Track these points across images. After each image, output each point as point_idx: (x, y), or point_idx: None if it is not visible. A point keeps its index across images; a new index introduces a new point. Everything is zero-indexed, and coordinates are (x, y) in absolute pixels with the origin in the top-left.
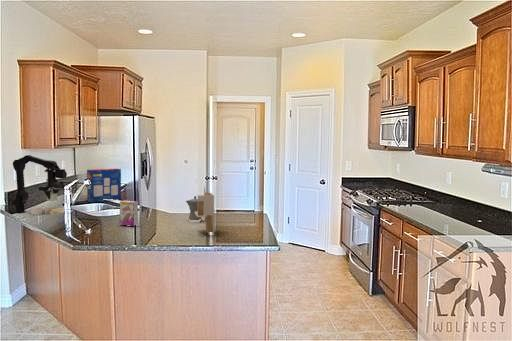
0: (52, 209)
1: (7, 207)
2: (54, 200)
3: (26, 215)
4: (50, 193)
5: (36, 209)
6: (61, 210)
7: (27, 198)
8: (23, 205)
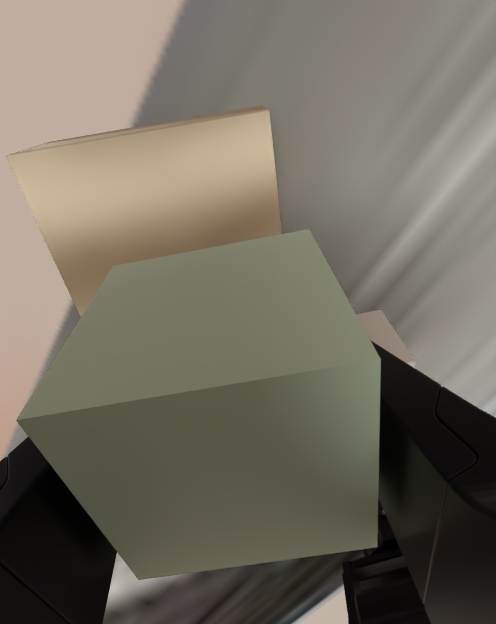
0: (257, 195)
1: (296, 612)
2: (218, 247)
3: (466, 333)
4: (243, 547)
5: (398, 348)
6: (112, 135)
7: (369, 613)
8: (387, 524)
